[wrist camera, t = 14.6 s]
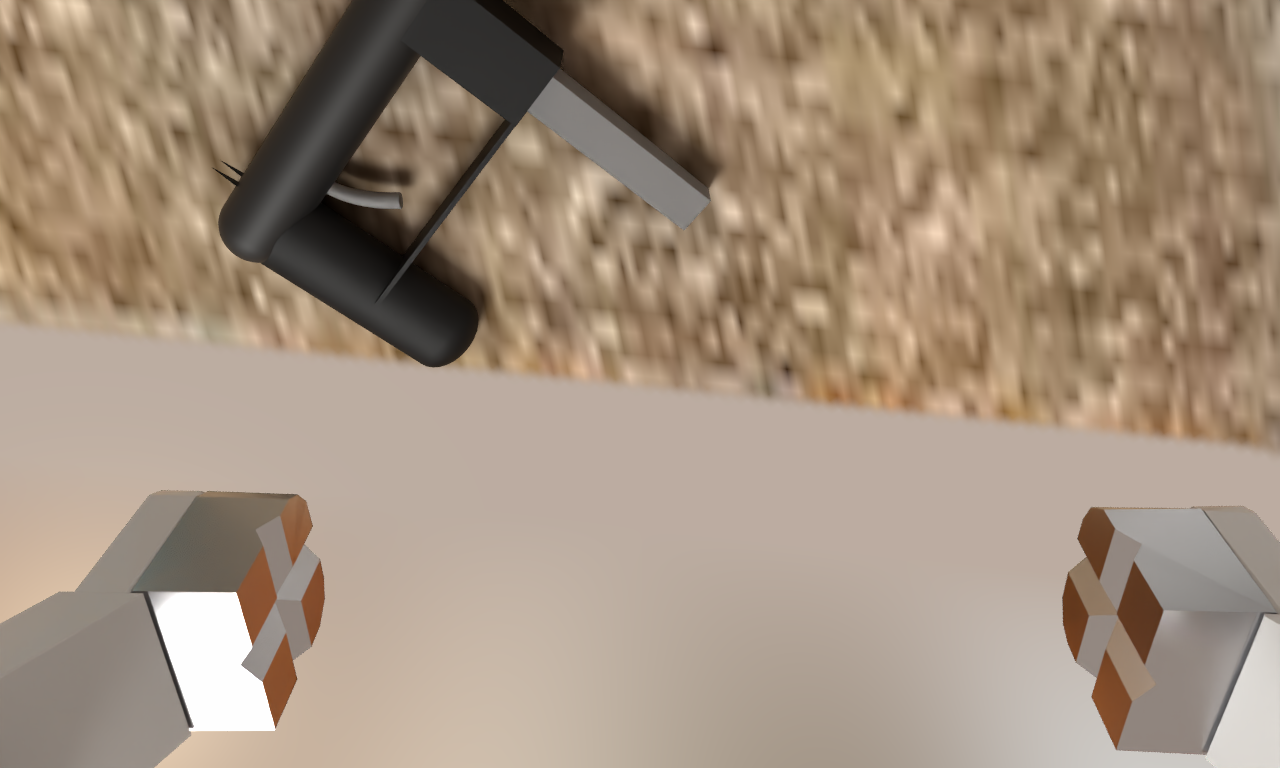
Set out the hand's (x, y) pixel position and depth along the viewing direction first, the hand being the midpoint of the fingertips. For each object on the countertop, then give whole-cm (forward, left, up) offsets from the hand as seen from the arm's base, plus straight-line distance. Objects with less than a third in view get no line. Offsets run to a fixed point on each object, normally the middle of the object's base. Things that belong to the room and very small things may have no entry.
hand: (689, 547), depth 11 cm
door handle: (+8, +5, -32) cm, 33 cm away
